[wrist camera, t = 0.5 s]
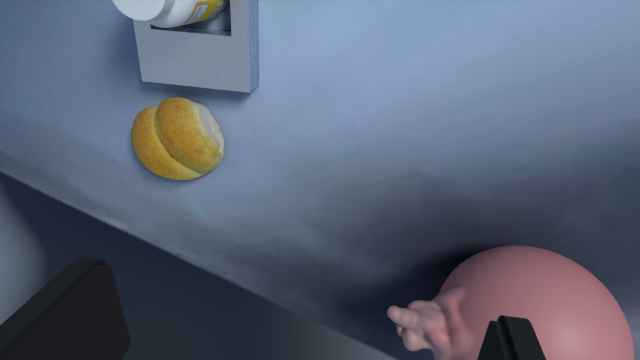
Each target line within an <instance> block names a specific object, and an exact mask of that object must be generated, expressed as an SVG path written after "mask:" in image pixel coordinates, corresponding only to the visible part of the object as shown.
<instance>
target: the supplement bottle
mask: <svg viewBox="0 0 640 360" xmlns="http://www.w3.org/2000/svg"><path fill="white" fill-rule="evenodd" d="M112 1H113V3H114V5H115V6H116V7H117V8H118V10H119V11H121V12H122V13H123V14H124V15H126V16H127V17H129V18H131V19H133V20H137V21H146V22H147V23H149V24H151V25H154V26H157V27H162V28H171V27H177V26H181V25H186V24H190V23H195V22H199V21H204V20H208V19H211V18H213V17H215V16H217V15H218V14H219V13H220V12H221V11H222V10H223V9H224V7H225V5H226V3H227V0H112Z"/></svg>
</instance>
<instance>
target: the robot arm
mask: <svg viewBox="0 0 640 360" xmlns="http://www.w3.org/2000/svg"><path fill="white" fill-rule="evenodd" d="M129 346H130V336H129V332H128V329H127V325H126V321H125V318H124V314H123V310H122V306H121V303H120V299H119V295H118V292H117V288H116V284H115V280H114V277H113V273H112V270H111V268H110V267H108V266H107V264H106V262H105V261H104V260H101V259H94V258H87V257H78V258H76V259H75V260H73V261H72V262H71V263H70V264H69V265H68V266H67V267H65V269H63V270H62V271H61V272H60V273H59V274H58V275H57V276H55V277H54V278H53V279H52V280H51V281H50V282H49V283H48V284H46V285H45V286H44V287H43V288H42V289H41V290H40V291H39V292H37V293H36V294H35V295H34V296H33V297H32V298H31V299H30V300H28V301H27V302H26V303H25V304H24V305H23V306H22V307H21V308H19V309H18V310H17V311H16V312H15V313H14V314H13V315H12V316H10V317H9V318H8V319H7V320H6V321H5V322H4V323H3V324H1V325H0V360H122V359H123V357H124V356H125V355H126V353H127V351H128V349H129ZM477 360H546V358H545V355H544V353H543V350H542V348H541V346H540V343H539V341H538V338H537V336H536V333H535V331H534V329H533V326H532V324H531V322H530V321H529V320H528V319H526V318H518V317H511V316H504V315H500V316H499V317H498V319H497V321H492V320H491V321H490V322H489V324H488V327H487V330H486V334H485V337H484V340H483V343H482V346H481V349H480V352H479V355H478V358H477Z"/></svg>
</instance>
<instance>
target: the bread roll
mask: <svg viewBox="0 0 640 360" xmlns="http://www.w3.org/2000/svg"><path fill="white" fill-rule="evenodd" d="M131 135H132V142H133V147H134V150H135V152H136V154H137V156H138V158H139V160H140V161H141V162H142V164H143V165H144V166H145V167H146V168H147V169H148V170H150V171H151V172H153V173H154V174H156V175H158V176H161V177H164V178H167V179H172V180H180V181H185V180H192V179H196V178H199V177H201V176H203V175H204V174H207V173H209V172H210V171H212V170H213V169H214V168H215V167H216V166H217V165H218V164H219V163H220V161H221V160H222V158H223V156H224V149H225V146H224V142H225V140H224V137H223V135H222V133H221V131H220V128H219V125H218V123H217V122H216V120H215V119H214V117H213V116H212V114H211V113H210V111H209V110H208V109H207V108H206V107H205V106H204V105H202V104H200V103H197V102H194V101H191V100H189V99H186V98H182V97H174V98H168V99H165V100H163V101H162V102H161V103H160V105H158V106H156V107H150V108H147V109H144V110H142V111H141V112H140V113H139V114H138V115H137V117H136V118H135V121H134V124H133V128H132V133H131Z"/></svg>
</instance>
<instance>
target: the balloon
mask: <svg viewBox="0 0 640 360" xmlns="http://www.w3.org/2000/svg"><path fill="white" fill-rule="evenodd" d="M387 315H388V317H389V318H390V319H391V320H392V321H394V322H395V323H396V324H397V325H396V330H397V333H398V335H399V336H400V337H402V339H403V343H404V346H405V347H406V348H407V349H408V350H410V351H417V350H420V349H423V348H426V349H430V350H432V354H433V358H434V360H477V358H478V355H479V352H480V349H481V346H482V343H483V340H484V337H485V334H486V330H487V327H488V324H489V322H490V321H491V320H492V321H497V319H498V317H499V316H500V315H504V316H511V317H518V318H526V319H528V320H529V321H530V322H531V324H532V326H533V329H534V331H535V333H536V336H537V338H538V341H539V343H540V346H541V348H542V350H543V353H544V355H545V358H546V360H634V346H633V340H632V335H631V332H630V329H629V326H628V323H627V320H626V318H625V316H624V314H623V312H622V310H621V308H620V306H619V305H618V303H617V302H616V300H615V299H614V297H613V296H612V294H611V293H610V292H609V291H608V290H607V288H606V287H605V286H604V285H603V284H602V283H601V282H600V281H599V280H598V279H597V278H596V277H595V276H594V275H592V274H591V273H590V272H589V271H587V270H586V269H585V268H583V267H582V266H580V265H579V264H577V263H576V262H574V261H572V260H570V259H568V258H566V257H564V256H562V255H560V254H557V253H555V252H552V251H549V250H545V249H541V248H537V247H531V246H520V245H511V246H501V247H496V248H492V249H488V250H485V251H482V252H480V253H477V254H475V255H473V256H472V257H470V258H468V259H467V260H465V261H464V262H462V263H461V264H460V265H459V266H458V267H457V268H456V269H455V270H454V271H453V272H452V273H451V274H450V275H449V276H448V278H447V279H446V281H445V282H444V284H443V285H442V287H441V289H440V292H439V294H438V295H437V296H436V297H435V298H433V299H432V300H431V301H423V300H415V301H412V302H411V303H409V304H408V306H407V309H406V308H399V307H397V306H390V307H389V308H388V310H387Z"/></svg>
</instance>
